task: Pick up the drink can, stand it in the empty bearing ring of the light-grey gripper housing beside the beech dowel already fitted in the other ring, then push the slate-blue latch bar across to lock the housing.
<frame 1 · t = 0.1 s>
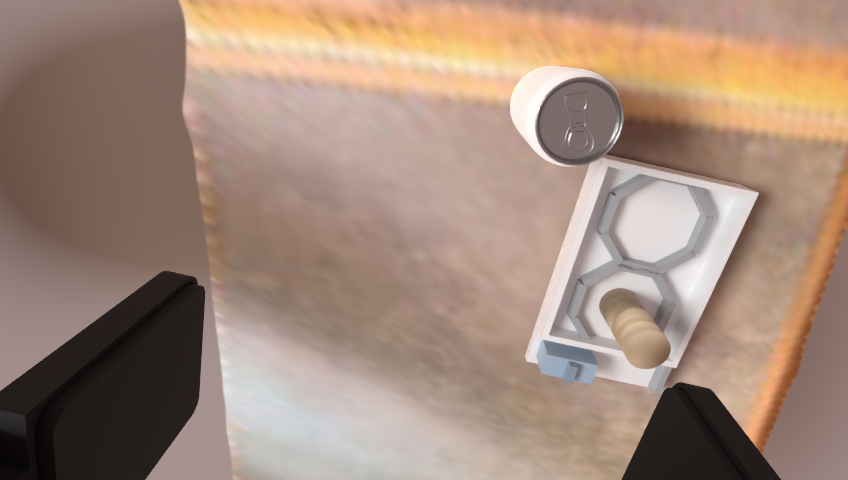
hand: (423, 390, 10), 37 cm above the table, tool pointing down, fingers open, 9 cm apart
latch: (567, 362, 48), point 3 cm above the table, slide at 0.0 cm
housing: (631, 258, 47), on the table
dowel: (618, 304, 48), point 1 cm above the table, touching housing
can: (546, 104, 43), on the table
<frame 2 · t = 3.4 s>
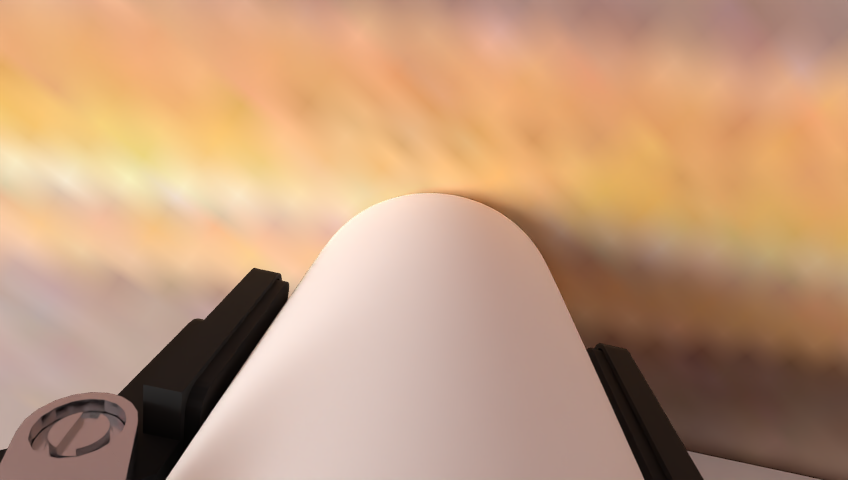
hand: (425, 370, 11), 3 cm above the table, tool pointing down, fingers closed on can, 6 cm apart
can: (431, 299, 14), on the table, touching gripper
when the fingers open (5 cm above the table, at t = 9.2 s): can drops 1 cm, resting on housing.
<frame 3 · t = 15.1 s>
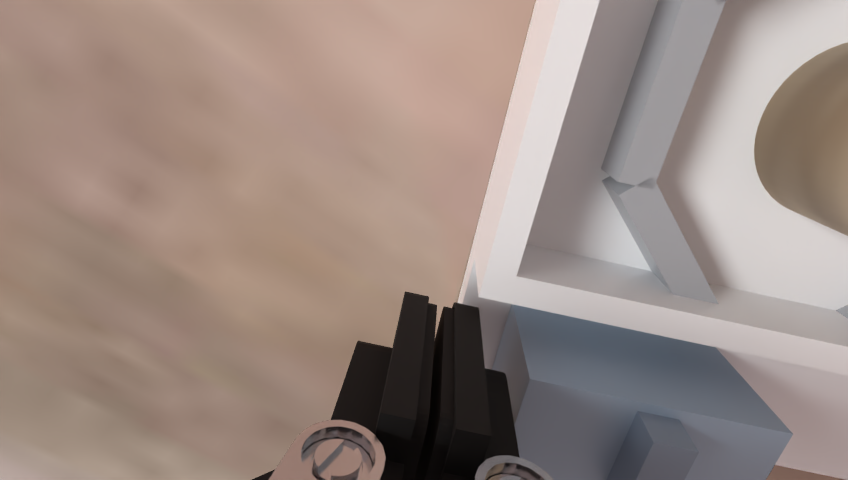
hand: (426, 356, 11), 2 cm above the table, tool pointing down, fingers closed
latch: (622, 413, 10), point 3 cm above the table, slide at 0.4 cm, touching gripper
dowel: (847, 133, 10), point 1 cm above the table, touching housing
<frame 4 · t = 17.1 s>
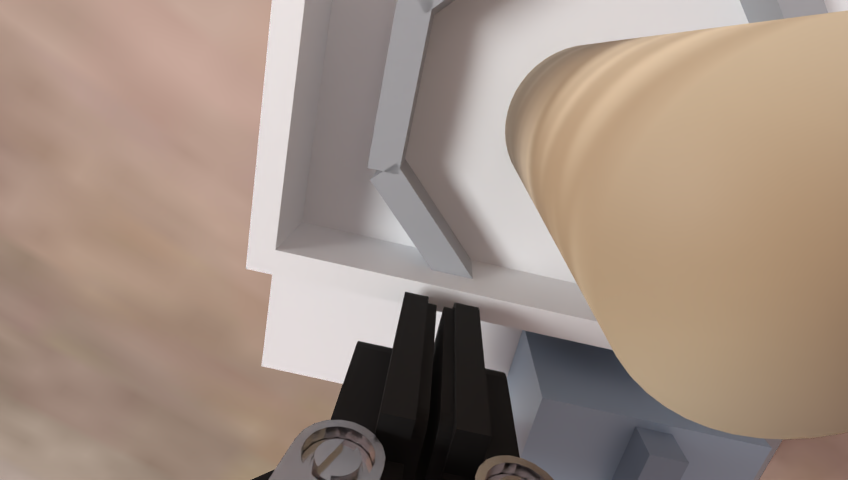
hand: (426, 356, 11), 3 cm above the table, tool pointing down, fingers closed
latch: (622, 427, 12), point 3 cm above the table, slide at 6.1 cm
dowel: (583, 127, 11), point 1 cm above the table, touching housing
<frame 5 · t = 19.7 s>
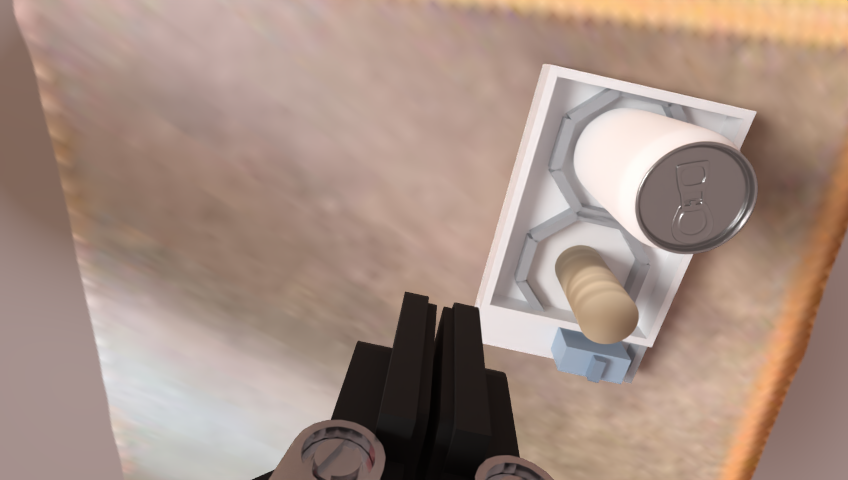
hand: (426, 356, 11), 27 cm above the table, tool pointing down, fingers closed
latch: (590, 357, 38), point 3 cm above the table, slide at 6.1 cm
housing: (594, 207, 37), on the table
dowel: (578, 266, 38), point 1 cm above the table, touching housing
can: (617, 153, 35), point 1 cm above the table, touching housing
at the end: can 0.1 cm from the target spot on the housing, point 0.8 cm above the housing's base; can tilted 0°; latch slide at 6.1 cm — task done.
